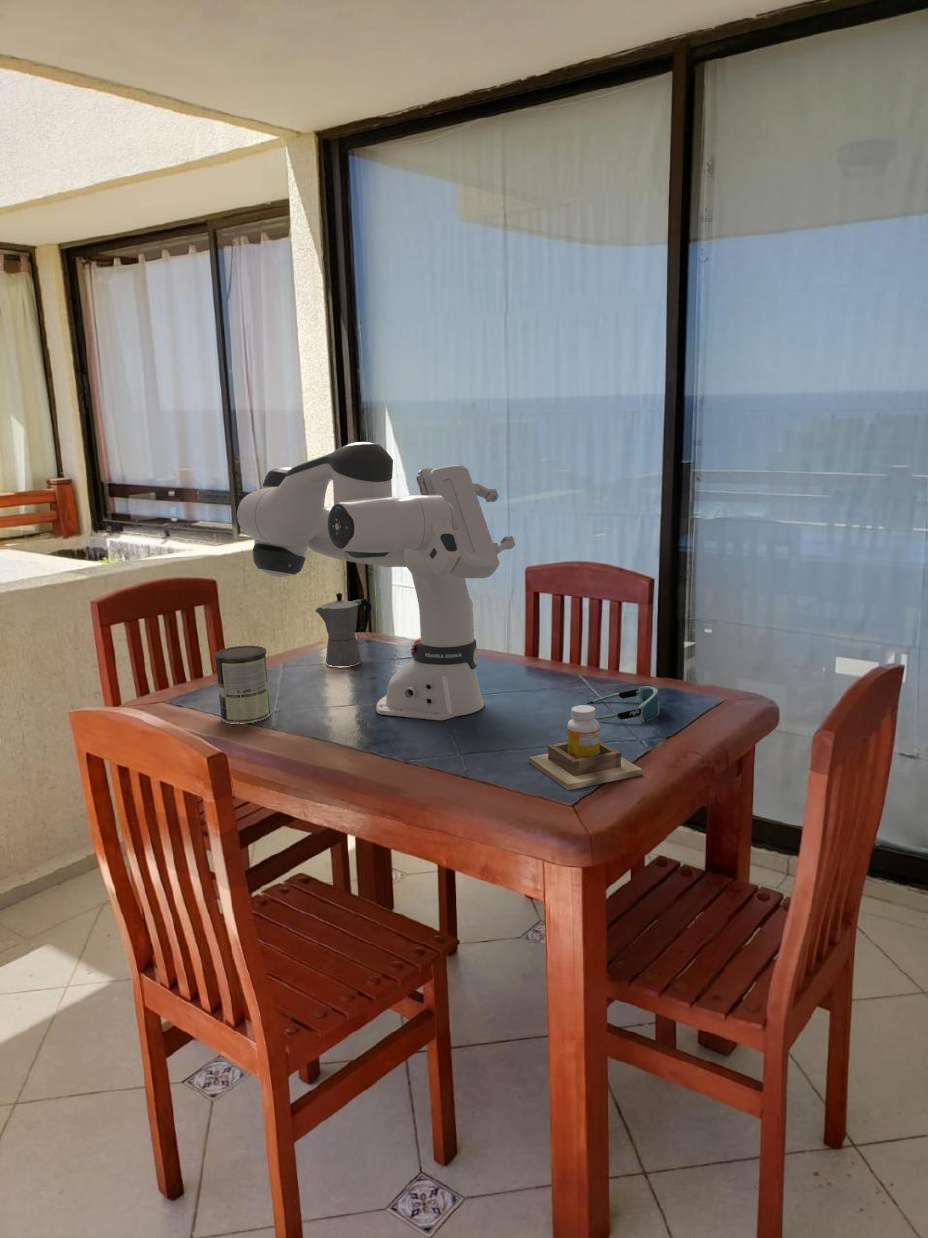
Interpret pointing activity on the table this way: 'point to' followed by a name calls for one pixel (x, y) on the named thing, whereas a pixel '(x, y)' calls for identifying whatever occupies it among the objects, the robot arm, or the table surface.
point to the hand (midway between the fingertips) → (504, 518)
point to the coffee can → (243, 684)
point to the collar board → (583, 766)
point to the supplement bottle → (583, 733)
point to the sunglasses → (645, 710)
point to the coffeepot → (343, 629)
